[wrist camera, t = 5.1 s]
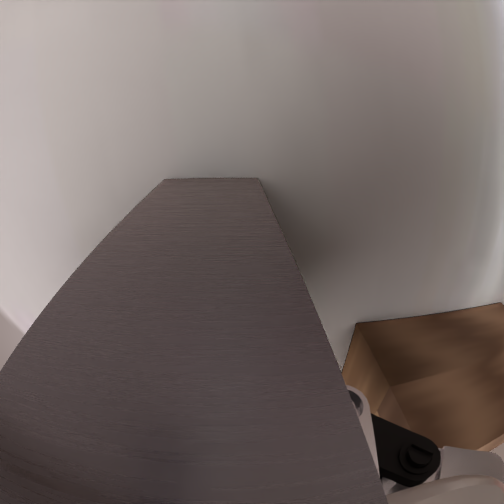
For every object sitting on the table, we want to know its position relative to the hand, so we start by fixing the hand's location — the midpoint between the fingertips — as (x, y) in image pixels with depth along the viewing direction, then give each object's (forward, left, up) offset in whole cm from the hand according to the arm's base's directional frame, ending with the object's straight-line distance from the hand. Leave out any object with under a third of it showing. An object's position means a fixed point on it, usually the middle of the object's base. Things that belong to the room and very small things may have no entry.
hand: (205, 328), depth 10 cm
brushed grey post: (0, 0, -5) cm, 5 cm away
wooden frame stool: (-15, +13, -5) cm, 20 cm away
